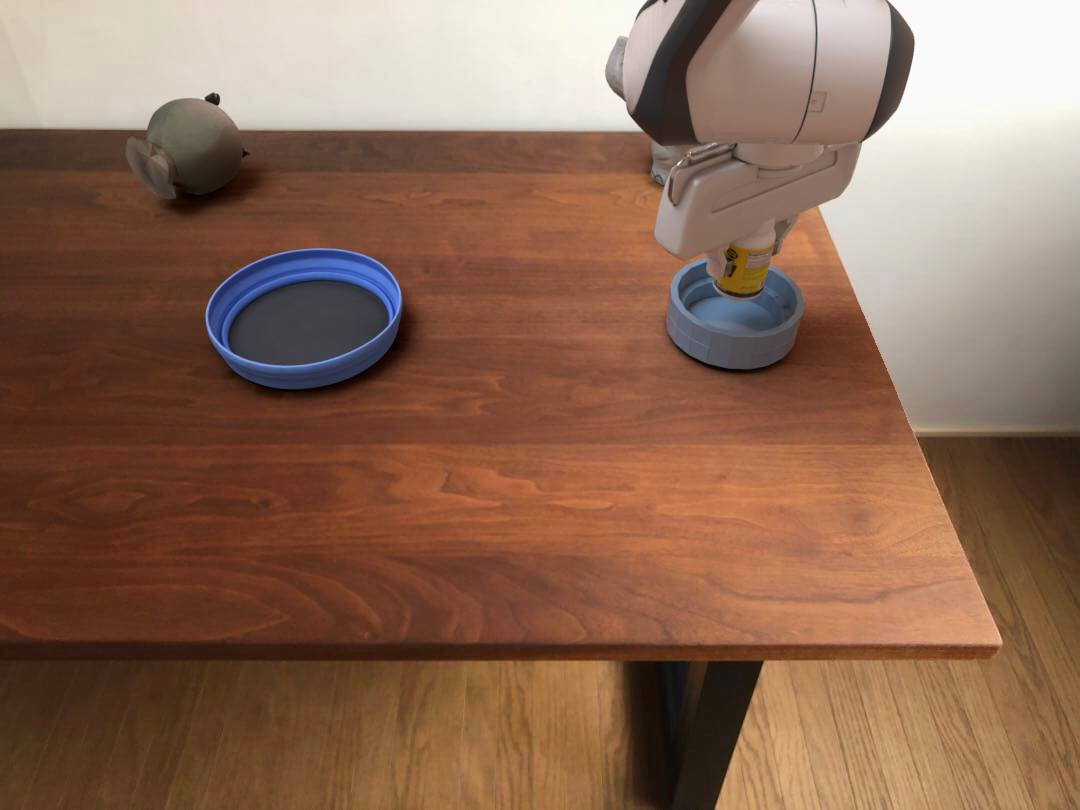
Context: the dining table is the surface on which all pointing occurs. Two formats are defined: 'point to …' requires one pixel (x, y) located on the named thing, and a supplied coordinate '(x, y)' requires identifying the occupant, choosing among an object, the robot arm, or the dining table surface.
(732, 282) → the supplement bottle
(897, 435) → the dining table surface
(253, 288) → the bowl
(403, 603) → the dining table surface
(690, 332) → the blue bowl
